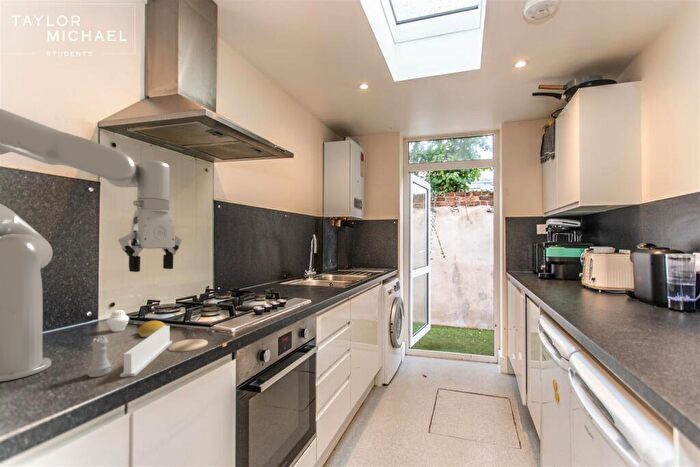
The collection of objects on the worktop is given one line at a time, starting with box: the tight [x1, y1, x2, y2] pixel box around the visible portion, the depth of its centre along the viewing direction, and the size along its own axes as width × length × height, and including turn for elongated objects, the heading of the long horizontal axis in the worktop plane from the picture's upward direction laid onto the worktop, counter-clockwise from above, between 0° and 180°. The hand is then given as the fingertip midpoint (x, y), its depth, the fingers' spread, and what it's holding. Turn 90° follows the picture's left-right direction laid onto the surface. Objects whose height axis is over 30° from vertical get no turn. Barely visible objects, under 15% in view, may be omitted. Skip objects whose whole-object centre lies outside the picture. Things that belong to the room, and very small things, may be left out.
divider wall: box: [119, 325, 173, 378], centre depth 86 cm, size 3×24×5 cm, turn 10°
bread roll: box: [137, 320, 168, 338], centre depth 108 cm, size 8×9×4 cm
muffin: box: [106, 309, 130, 333], centre depth 111 cm, size 6×6×7 cm
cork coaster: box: [167, 338, 209, 353], centre depth 95 cm, size 10×10×1 cm
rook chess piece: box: [86, 336, 112, 378], centre depth 76 cm, size 4×4×8 cm
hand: (152, 270), depth 91 cm, fingers open, 9 cm apart
